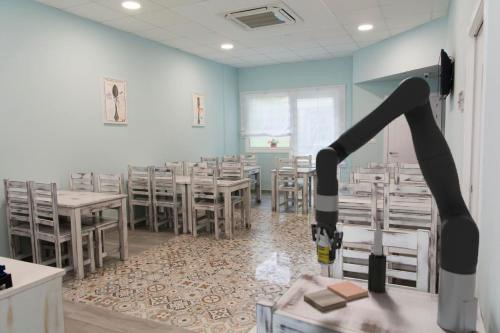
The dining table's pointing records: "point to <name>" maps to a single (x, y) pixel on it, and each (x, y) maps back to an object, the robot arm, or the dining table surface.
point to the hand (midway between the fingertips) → (325, 257)
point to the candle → (377, 264)
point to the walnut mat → (325, 300)
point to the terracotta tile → (347, 290)
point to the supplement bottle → (324, 252)
